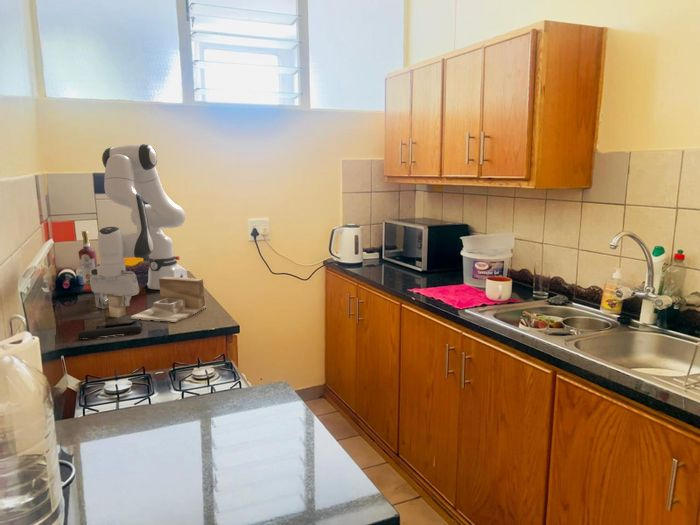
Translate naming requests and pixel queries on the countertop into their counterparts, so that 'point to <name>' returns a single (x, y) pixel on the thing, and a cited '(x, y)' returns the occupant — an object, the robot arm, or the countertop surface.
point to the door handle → (112, 330)
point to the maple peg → (116, 305)
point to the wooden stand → (176, 300)
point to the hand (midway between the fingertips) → (116, 304)
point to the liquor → (87, 261)
